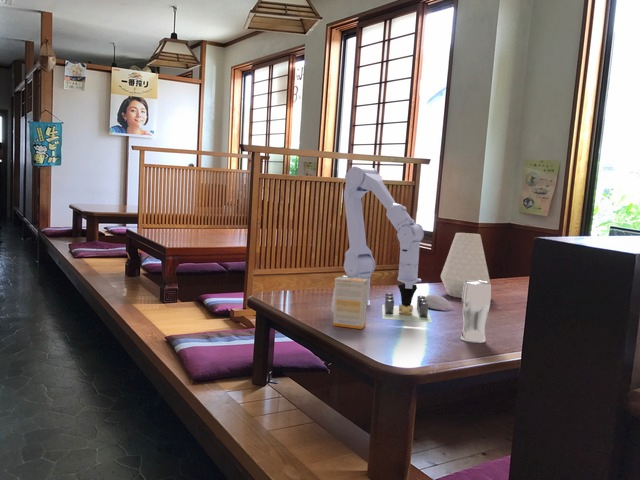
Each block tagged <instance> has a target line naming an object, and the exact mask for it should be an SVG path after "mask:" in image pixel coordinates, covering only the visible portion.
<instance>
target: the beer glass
mask: <svg viewBox="0 0 640 480" xmlns="http://www.w3.org/2000/svg"><path fill="white" fill-rule="evenodd" d="M491 286H492V284H491V282H490V281H489V282H485V281H478V280H465V281H464V287H463V294H462V298H461V305H462V306H461V308H462V309H461V310H462V317H463V318H462V321H463V325H462V331H461V336H460V340H461V341H463V342H466V343H471V344H484V343H486V330H485V329H486V323H487V318H488V315H489V311H490V307H491V301H492V300H491V299H492V298H491V297H492V296H491V295H492V287H491Z"/></svg>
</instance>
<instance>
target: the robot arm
mask: <svg viewBox="0 0 640 480" xmlns="http://www.w3.org/2000/svg"><path fill="white" fill-rule="evenodd" d="M344 178H345V187H344V191H343V200H344V207H345V217H346V226H347V235H348V237H347V238H348V244H349V245H348V247H349V248H348V249H347V251H345V253H344V257H345V258H344V263H343V269H344V272H345V273H346V275H342V277H353V278H364V279H368V287H367V306H370V305H371V300H370V287H371V286H370V285H371V284H370V283H371V276H372V273H373V272H374V271H375V269H376V261H375V258H374V257H373V252H372V250H371V249H370V248H369V247H368V246H367V238H366V229H365V220H364V212H363V203H362V198H363V197H364V196H365V194H366V193H368V192H369V191H370V192H372V193H373V194H374V196H375V197H376V198H377V199H378V201H379V202H380V203H381V204H382V205H383V207H384V208H385V209H386V214H385V215H386V217H387V219H388V220H389V221H390V223H391V224H392V226H393V228H394V229H395V230H396V232H397V233H396V239H397V240H398V241H399V248H400V249H399V260H398V261H399V264H398V277H397V281H398V282H401V283H398V284H397V287H398V289H399V293H400V301H401V304H407V305H412V301H413V297H414V295H415V293H416V291H417V289H418V287H417V283H418V282H419V283H420V282H421V283H422V279H421V278H418V274H419V260H420V245H421V244H420V243H421V242H422V241H423V239H424V236H425V232H424V229H423V226H422V225H421V224H419V223H416V222H415V219H414V218H412V217H411V216H410V215H409V213H408V212H407V207H406V206H405V205H402V204H400V203H396V201H395V200H394V197H392V195H391V193H390V191H389V190H388V187H387V186H386V185H385V183H384V182H383V178H382V175H381V174H379V172H378V171H377V169H375V168H373V167H370V168H369V167H363V166H362V167H361V166H356V165H355V166H352V167H350V168H349V170H348V171H347V172H346V174H345V176H344Z"/></svg>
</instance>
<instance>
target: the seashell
mask: <svg viewBox="0 0 640 480" xmlns="http://www.w3.org/2000/svg"><path fill="white" fill-rule="evenodd" d="M425 300H427V303H428V309H431V310H438V311H442V312H450V311H454V310H455V307H454V306H453V305H452V304H451V302H450V301H449V300H447V299H446V298H445V297H443V296H441V295H436V294H430V295H426V296H425Z"/></svg>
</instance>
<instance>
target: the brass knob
mask: <svg viewBox="0 0 640 480" xmlns="http://www.w3.org/2000/svg"><path fill="white" fill-rule="evenodd" d="M398 306H399V314H400V315H407V316H408V315H412V311H413V307H414V306H413V305H412V304H411V305H407V304H402V303H401V304H399V305H398Z"/></svg>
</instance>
